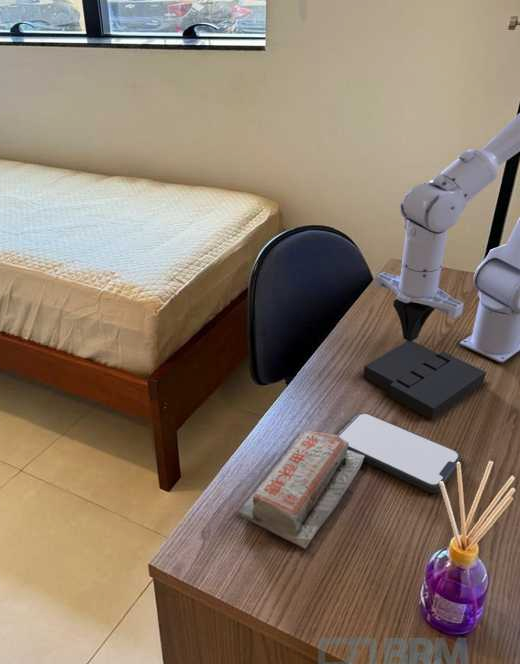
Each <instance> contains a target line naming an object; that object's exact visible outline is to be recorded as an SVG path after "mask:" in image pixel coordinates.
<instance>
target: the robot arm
mask: <svg viewBox="0 0 520 664" xmlns="http://www.w3.org/2000/svg"><path fill="white" fill-rule="evenodd" d="M519 152H520V112H519V113H518V114H517V115H516V116H515V117H514V118H513V119H512V120H510V122H509V123H508V124H507V125H506V126H505V127H503V129H502V130H500V131H499V132H498V133H497V134H496V135H495V136H494V137H493V138H492V139H491V140H489V142H488V143H486V144H485V146H484V147H482V148H479V149H478V148H470V149H468V150H464V151H463V152H462V153H461V154H459V155H458V157H457V159H455V160H454V161H453V162H452V163H450V164H449V165H448V166H447V167H446V168H444V169H443V170H442V171H441V172H439V173H438V174H437V175H436V176H434V177H433V179H431V180H430V181H429V182H423V183H419V184H417V185H414V186H413V187H412V188H410V189H409V190H408V191H407V193H406V194H405V195H404V198H403V201H402V202H401V203H400V204H399V212H400V214H401V216H402V217H403V219H404V226H403V227H404V228H405V229H404V230H405V237H404V245H403V253H402V260H401V269H400V275H396V274H392V273H388V272H386V271H383V272H381V273H379V274H377V275H376V276H375V285H374V286H375V287H377V288H380V289H381V288H385V289H387V290H390V291H392V292H393V293H394V294H396V299H394V300H393V302H392V306H393V308H394V309H395V312H396V313H397V315H398V318H399V321H400V325H401V331H402V336H403V340H405V341H409V342H411V341H413V342H414V341H415V340H416V339H418V337H419V335H420V333H421V330H422V328H423V327H424V325H425V323H426V321H427V320H428V319H429V317H430V316H431V314H432V313H433V312H434V311H435V310H438V311H440V312H443V313H446V314H447V317H449V318H451V319H453V320H455V319H456V318H458V317H460V316H461V315H462V314H463V310H464V303H463V302H461V301H459V300H457V299H455V298H453V296H451V295H450V294H448V293H446V292H445V291H444V290H443V289H441V288H439V284H440V278H441V272H442V267H443V261H444V255H445V249H446V243H447V236H448V231H449V229H450V228H452V227H454V226H455V225H456V223H457V222H458V221H459V219H460V216H461V214H462V212H463V211H464V210H465V209H466V207H467V206H468V202H470V201H471V200H472V199H473V198H474V197H476V196H477V195H478V194H479V193H481V192H482V191H483V190H484V189H485V188H487V187H488V186H489V185H490V184H492V183H493V182H494V181H495V180H496V179H497V178H498V177H497V176H498V171H499V167H500V166H501V165H503V164H504V163H505V162H507V161H508V160H510V159H511V158H512V157H514V156H515V155H516V154H518V153H519ZM472 285H473V287H474V288H475V289H476V290H477V291H478V292H477V298H479V302H478V306H477V311H476V314H475V315H476V316H475V320H474V324H473V329H472V334H471V335H469V336H468V337H465V338H464V339H462V340H461V341H460V343H459V345H461V346H462V347H465V348H467V349H469V350H472V351H474V352H476V353H478V354H480V355H482V356H485V357H487V358H489V359H491V360H493V361H496V362H498V363H502V364H503V363H504V362H506V361H507V360H509V359H510V358H511V357H512V356H513V357H514V355H515V354H517V353H519V352H520V217H519V218H518V219H517V222H516V224H515V226H514V228H513V230H512V232H511V234H510V236H509V238H508V240H507V242H506V243H505V244H502V245H500V246H497V247H494V248H492V249H490V250H489V252H488V254H487V255H486V257H485V258H484V260H483V261H482V262H481V263H480V264H479V265H478V266H477V268H476V270H475V272H474V274H473V278H472Z"/></svg>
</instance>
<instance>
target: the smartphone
mask: <svg viewBox="0 0 520 664" xmlns="http://www.w3.org/2000/svg"><path fill="white" fill-rule="evenodd" d="M336 435H337V436H339V437H340V438H341V439H343V440H345V441H347V442H348V444H349V445H348V449H347V450H350V451H353V452H356V453H359V454H361V455H364V456H365V457H364V460H363V463H364V462H365V463H366V464H369V465H370V466H372V467H375V468H376V469H379V470H381V471H383V472H385V473H387V474H389V475H391V476H394V477H396V478H398V479H400V480H402V481H404V482H406V483H409V484H410V485H413V486H415V487H417V488H419V489H421V490H423V491H425V492H428V493H430V494H438V493H440V492H442V490H440V487H439V481H443V482H444V484H445V486H446V485H447V484H448V483H449V480H450V479H451V478H452V476H453V475H454V474H455V472H456V471H457V469H456V463H457V462H458V461H459V462H460V464H462V454H460V452H459V451H457V450H455V449H453V448H450V447H448V446H445V445H443V444H441V443H438V442H436V441H434V440H431V439H430V438H427V437H424V436H422V435H419V434H417V433H414V432H412V431H410V430H408V429H405V428H403V427H400V426H398V425H396V424H393V423H391V422H389V421H386V420H384V419H381V418H379V417H377V416H375V415H372V414H370V413H367V412H361V413H357V414H356V415H355V416H354V417H353V418H352V419H351V420H350V421H349V422H348V424H346V425H345V426H344V427H343V428H342V429H341V431H340V432H338V434H336Z"/></svg>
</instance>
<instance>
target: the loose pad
mask: <svg viewBox="0 0 520 664" xmlns="http://www.w3.org/2000/svg"><path fill="white" fill-rule="evenodd" d="M438 354H439V353H438V352H436V351H434V350H432V349H430V348H428V347H426V346H424V345H422V344H419V343H417V342H415V341H414V340H413V341H411V342H409V341H407V340H405V341H404V342H402V343H400V344H399V345H397V346H396V347H394V348H392V349H390V350H389V351H387V352H385V353H384V354H382V355H381V356H379V357H377V358H375V359H374V360H372V361H371V362H368V363H367V364H365V365H364V367H363V375H362V377H363V378H364V379H366V380H368V381H369V382H371V383H373V384H375V385H376V386H378V387H380V388H382V389H383V390H385V391H387V392H389V391H390V385H391V384H392V383H394V382H395V381H396V382H398V383H400V384H402V385H404V386H405V387H407V388H410V387H412V386H413V385H415V384H416V383H418V382H419V381H421V378H419V377H417V376H415V375H414V374H412V371H413V370H414V369H416V368H417V367H419V366H421V365H422V364H423V365H425V366H427V367H429V368H431V369H433V370H435V371H436V370H438V369H439V368H441V367H442V366H444V365H445V364H447V361H445V360H443V359H441V358H438V357H437V356H438Z"/></svg>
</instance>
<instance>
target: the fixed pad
mask: <svg viewBox="0 0 520 664" xmlns="http://www.w3.org/2000/svg"><path fill="white" fill-rule="evenodd" d="M437 357H438V358H441V359H443V360H445V361H447V364H445V365H444V366H442V367H441V368H439V369H438V370H436V371H435V370H433V369H431V368H429V367H427V366H425V365H423V364H422V365H421V366H419V367H417V368H416V369H414V370H413V371H412V374H414V375H415V376H417V377H419V378H421V381H419V382H418V383H416V384H415V385H413V386H412V387H410V388H407V387H405V386H404V385H402V384H400V383H398V382H396V381H395V382H394V383H392V384H391V385H390V391H388V397H390V398H391V399H393V400H394V401H396V402H398V403H400V404H401V405H403V406H405V407H407V408H409V409H411V410H412V411H414V412H416V413H417V414H418V415H421V416H422V417H425V418H426V419H428V420H429V421H433V420H435V419H436V418H437V417H439V416H440V415H442V414H443V413H445V412H446V411H447V410H449V409H450V408H451V407H453V406H454V405H455V404H457V403H458V402H459V401H461V400H462V399H464V398H466V397H467V396H469V394H471V393H472V392H474V391H475V390H476V389H478V388H479V387H480V386H482V385H484V384H485V383H484V382H485V379H486V375H487V371H486V370H483V369H480V368H478V367H476V366H475V365H472V364H470V363H468V362H466V361H463V360H461V359H460V358H458V357H456V356H453V355H451V354H449V353H447V352H445V351H441V352H439V353H438V356H437Z"/></svg>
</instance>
